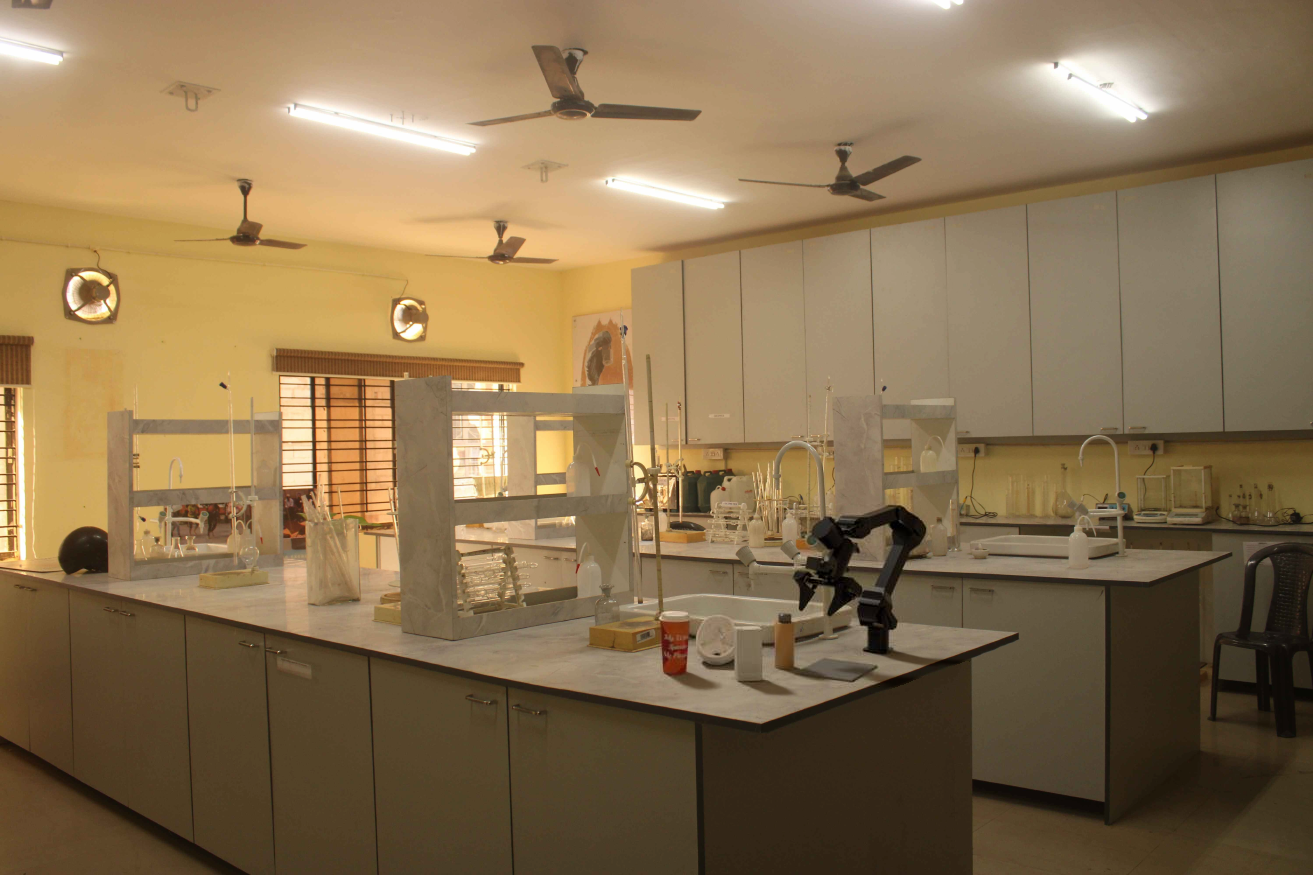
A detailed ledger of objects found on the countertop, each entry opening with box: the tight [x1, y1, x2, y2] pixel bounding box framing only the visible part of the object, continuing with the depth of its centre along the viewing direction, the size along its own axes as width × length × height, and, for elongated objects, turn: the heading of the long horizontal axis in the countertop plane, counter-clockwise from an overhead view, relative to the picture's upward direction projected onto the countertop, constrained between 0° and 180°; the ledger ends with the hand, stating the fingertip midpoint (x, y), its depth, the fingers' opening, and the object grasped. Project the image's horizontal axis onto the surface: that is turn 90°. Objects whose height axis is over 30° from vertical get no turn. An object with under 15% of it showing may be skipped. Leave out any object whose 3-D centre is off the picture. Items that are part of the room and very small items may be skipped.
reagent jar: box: [774, 612, 796, 670], centre depth 235 cm, size 5×5×13 cm
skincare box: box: [733, 625, 763, 682], centre depth 222 cm, size 6×4×12 cm
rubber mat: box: [794, 657, 878, 683], centre depth 232 cm, size 18×14×1 cm
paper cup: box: [658, 610, 692, 676], centre depth 229 cm, size 8×8×14 cm
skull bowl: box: [695, 614, 736, 666], centre depth 242 cm, size 10×14×12 cm
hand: (814, 613), depth 238 cm, fingers open, 9 cm apart
